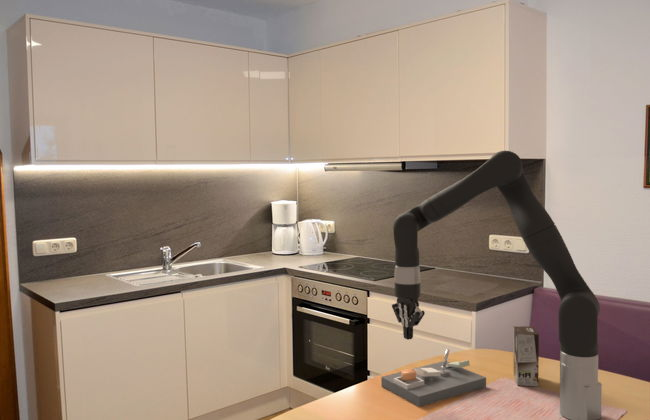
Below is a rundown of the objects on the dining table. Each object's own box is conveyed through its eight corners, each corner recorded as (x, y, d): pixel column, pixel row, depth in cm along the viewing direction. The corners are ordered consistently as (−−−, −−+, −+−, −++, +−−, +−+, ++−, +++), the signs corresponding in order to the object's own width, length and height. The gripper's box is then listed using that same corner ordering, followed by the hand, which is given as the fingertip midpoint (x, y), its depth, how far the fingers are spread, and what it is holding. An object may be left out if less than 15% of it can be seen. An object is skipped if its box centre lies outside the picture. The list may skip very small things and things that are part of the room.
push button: (419, 378, 164) (419, 372, 164) (407, 382, 162) (407, 375, 161) (409, 374, 168) (409, 367, 167) (398, 377, 165) (398, 370, 165)
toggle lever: (445, 371, 171) (451, 349, 172) (442, 370, 170) (448, 349, 171) (442, 370, 172) (448, 348, 173) (439, 369, 171) (444, 347, 172)
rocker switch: (440, 375, 168) (441, 371, 168) (422, 376, 164) (423, 371, 164) (430, 371, 172) (431, 367, 172) (413, 372, 168) (413, 367, 168)
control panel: (486, 387, 168) (486, 373, 168) (419, 407, 155) (419, 392, 155) (445, 369, 184) (445, 356, 184) (381, 386, 171) (381, 372, 171)
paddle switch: (469, 365, 173) (468, 360, 173) (461, 367, 171) (460, 362, 171) (456, 363, 178) (455, 358, 178) (448, 366, 176) (447, 361, 176)
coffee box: (539, 386, 168) (539, 334, 166) (516, 385, 169) (516, 333, 168) (534, 375, 176) (534, 326, 175) (513, 374, 178) (513, 325, 177)
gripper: (432, 282, 159) (432, 342, 160) (403, 275, 170) (404, 331, 171) (411, 286, 155) (412, 346, 156) (383, 278, 166) (384, 335, 168)
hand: (408, 338), depth 164 cm, fingers closed
